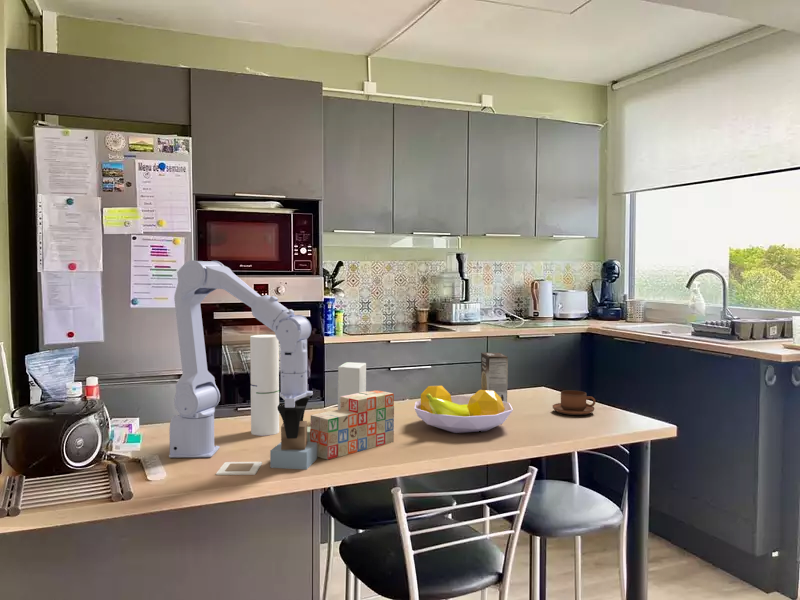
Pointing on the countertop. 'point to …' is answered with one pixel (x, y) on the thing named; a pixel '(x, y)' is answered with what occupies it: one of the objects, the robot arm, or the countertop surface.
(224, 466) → the white flat square frame
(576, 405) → the cup and saucer
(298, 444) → the walnut cube
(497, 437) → the countertop surface
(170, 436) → the robot arm
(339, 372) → the skincare box
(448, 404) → the fruit bowl
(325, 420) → the stack of blocks
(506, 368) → the coffee box
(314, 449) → the base block
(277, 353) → the cylindrical container
